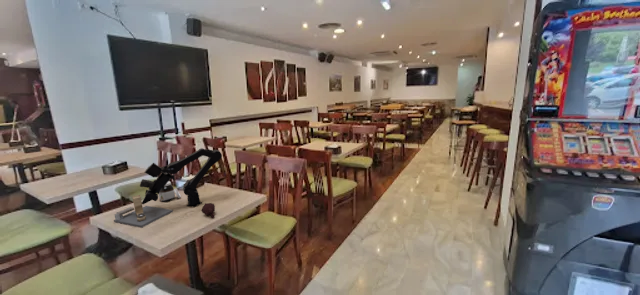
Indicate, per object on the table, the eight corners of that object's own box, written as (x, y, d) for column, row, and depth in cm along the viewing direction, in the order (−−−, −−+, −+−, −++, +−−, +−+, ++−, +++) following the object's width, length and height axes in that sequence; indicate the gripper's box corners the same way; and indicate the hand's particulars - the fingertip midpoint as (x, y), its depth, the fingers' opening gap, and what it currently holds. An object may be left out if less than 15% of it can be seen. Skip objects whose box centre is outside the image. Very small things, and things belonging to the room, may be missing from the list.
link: (146, 219, 144) (143, 201, 141) (137, 221, 141) (134, 203, 139) (142, 209, 156) (139, 193, 153) (134, 212, 153) (131, 195, 151)
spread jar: (157, 200, 173) (154, 183, 171) (175, 194, 182) (172, 178, 180) (166, 204, 167) (163, 186, 164) (184, 197, 176) (181, 181, 173)
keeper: (144, 220, 143) (143, 214, 142) (110, 225, 138) (109, 219, 138) (152, 209, 156) (150, 204, 155) (121, 214, 152) (120, 208, 151)
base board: (172, 211, 155) (172, 209, 155) (141, 227, 138) (141, 225, 137) (146, 207, 162) (146, 205, 162) (114, 222, 145) (113, 220, 145)
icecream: (196, 201, 152) (203, 212, 141) (209, 195, 156) (216, 206, 144) (201, 211, 155) (207, 222, 144) (213, 205, 159) (220, 215, 147)
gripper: (148, 170, 157) (130, 191, 154) (146, 178, 141) (125, 202, 138) (166, 180, 162) (148, 200, 159) (166, 189, 146) (146, 212, 143)
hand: (142, 203), depth 150 cm, fingers closed
